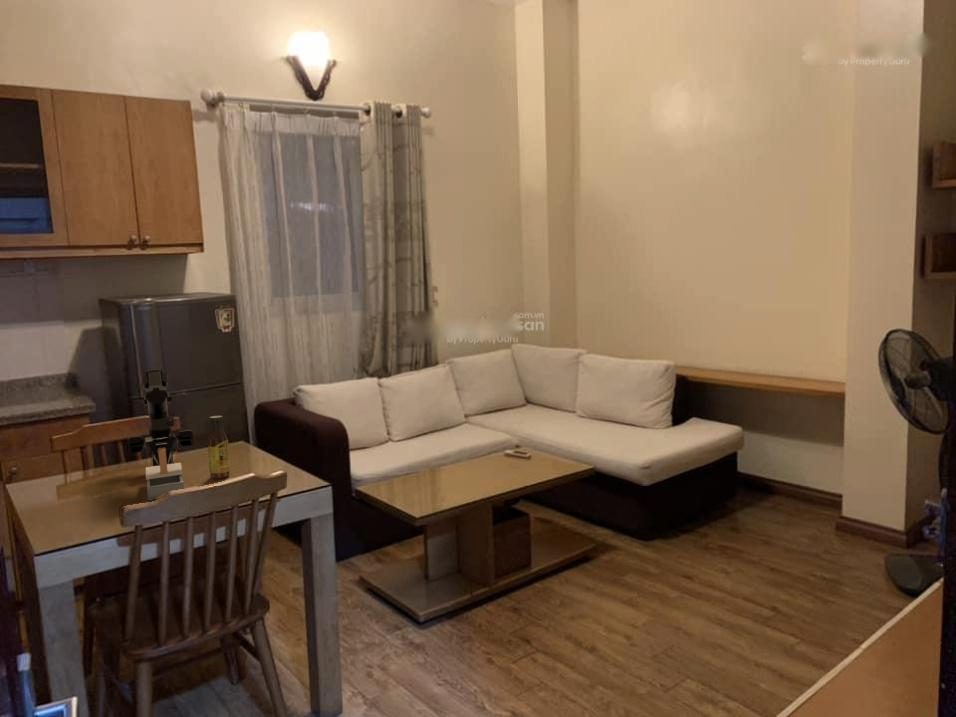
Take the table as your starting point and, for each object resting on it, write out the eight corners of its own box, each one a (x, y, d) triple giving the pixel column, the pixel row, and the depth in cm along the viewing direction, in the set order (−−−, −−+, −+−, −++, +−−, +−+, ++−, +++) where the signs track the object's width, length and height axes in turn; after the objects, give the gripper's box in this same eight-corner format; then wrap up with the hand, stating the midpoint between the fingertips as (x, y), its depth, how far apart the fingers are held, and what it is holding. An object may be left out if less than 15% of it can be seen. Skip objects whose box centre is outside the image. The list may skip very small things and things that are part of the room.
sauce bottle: (223, 479, 230) (218, 419, 228) (206, 479, 232) (200, 419, 229) (234, 473, 237) (229, 414, 234) (217, 473, 238) (212, 414, 235)
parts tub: (148, 489, 222) (146, 477, 222) (182, 484, 227) (181, 472, 226) (148, 500, 212) (146, 487, 211) (184, 494, 216) (183, 482, 215)
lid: (146, 469, 230) (143, 444, 229) (180, 464, 234) (178, 440, 233) (146, 479, 218) (143, 453, 217) (182, 474, 223) (180, 448, 222)
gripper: (124, 411, 220) (127, 454, 212) (189, 404, 228) (194, 445, 219) (128, 431, 228) (130, 473, 220) (190, 424, 236) (195, 464, 227)
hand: (163, 464), depth 221 cm, fingers closed on lid, 2 cm apart
